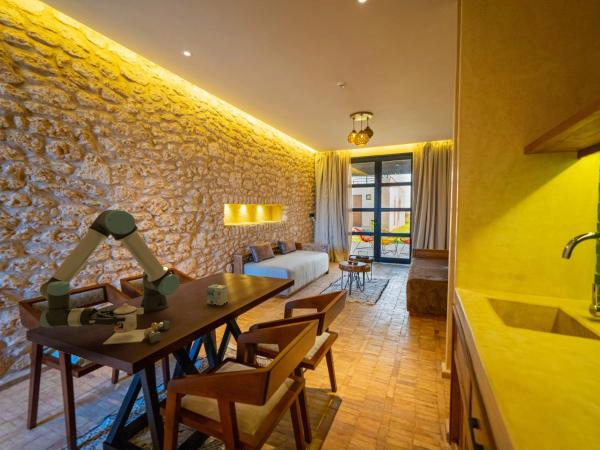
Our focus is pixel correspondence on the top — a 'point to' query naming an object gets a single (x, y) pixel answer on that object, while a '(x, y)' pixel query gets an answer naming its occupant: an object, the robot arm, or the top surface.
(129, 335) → the pad
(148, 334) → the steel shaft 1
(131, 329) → the teacup with lid
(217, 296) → the light bulb box
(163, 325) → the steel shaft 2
